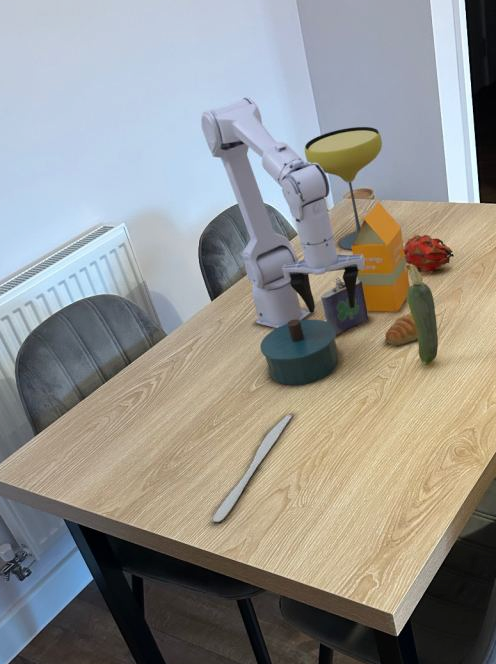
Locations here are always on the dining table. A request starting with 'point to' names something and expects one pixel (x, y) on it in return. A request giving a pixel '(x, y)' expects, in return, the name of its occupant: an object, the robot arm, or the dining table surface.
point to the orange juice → (382, 261)
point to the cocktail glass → (345, 158)
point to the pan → (305, 367)
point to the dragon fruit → (427, 253)
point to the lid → (298, 340)
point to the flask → (344, 307)
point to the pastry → (402, 331)
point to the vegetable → (423, 315)
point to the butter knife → (250, 469)
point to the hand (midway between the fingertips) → (332, 307)
